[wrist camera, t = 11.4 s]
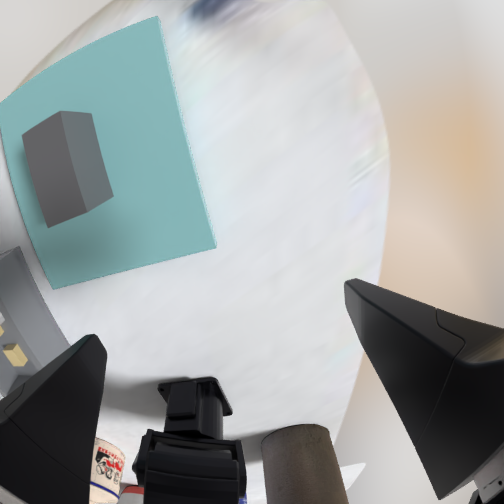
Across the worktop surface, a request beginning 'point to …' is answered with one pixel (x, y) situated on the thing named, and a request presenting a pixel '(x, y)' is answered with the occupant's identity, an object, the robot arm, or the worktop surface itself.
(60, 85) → the lid
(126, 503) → the citrus juicer
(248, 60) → the worktop surface
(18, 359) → the tub
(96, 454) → the teacup with lid
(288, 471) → the pillar candle
